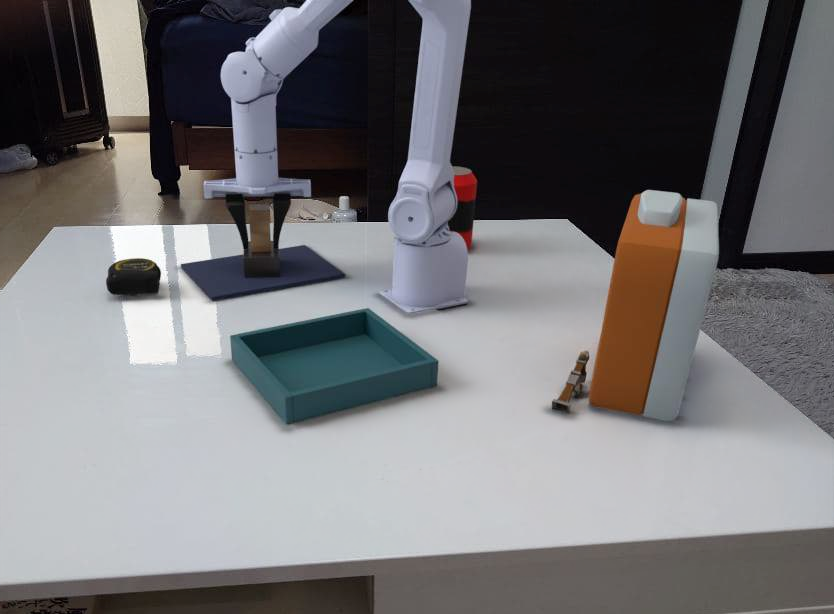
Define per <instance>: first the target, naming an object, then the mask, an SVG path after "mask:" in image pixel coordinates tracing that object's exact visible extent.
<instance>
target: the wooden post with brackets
mask: <svg viewBox="0 0 834 614" xmlns="http://www.w3.org/2000/svg"><path fill="white" fill-rule="evenodd" d="M589 361H590V352H589V350H583V351H580V352H579V355H578V358H577V359H576V361H575V366H574V368H573V369H571V371H570V373H569V376H568V378H567V380H566V381H565V386H564V389H563V391H562V392H561V394H560V395H559V396H558V397H557V399H556V398H553V399H552V400H551V409H552V410H553V409H559V410H563V411H565V412H568V413H570V412H571V403H570V401H571V398H575V397H579V396H580V395H579V394H580V391H582V390H583V384H585V382H586V381H587V374H588V373H587V372H588V371H587V364H588V363H589Z"/></svg>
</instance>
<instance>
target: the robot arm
mask: <svg viewBox="0 0 834 614" xmlns="http://www.w3.org/2000/svg"><path fill="white" fill-rule="evenodd" d="M353 1H354V0H305V1H304V2H303V4H302V5H301V6H300V7H299V8H297V7H292V6H286V7H284V8H283V9H274V10H273V11H272V12H271V13H270V14H269V16H268V17H269V19H270V22H269V23H268V24H267V25H266V26H265V27H264V28H263V29H262V30H261V31H260V32H259V34H257V36H256V37H249V38H248V39H247V41H246V42H245V46H246V47H245V51H235V52H231V53H229V54H228V55H227V57H226V59H225V60H224V62H223V64H222V65H221V69H220V81H221V85H222V88H223V90H224V92H225V93H226V94H227V96H228V97H229V98H230V103H231V118H232V119H231V120H232V133H233V146H234V147H233V149H234V164H235V177H234V178H226V179H215V180H204V181H203V194H204V199H213V198H225V207H226V208H227V210H228V212H229V214H230V216H231V218H232V219H233V221H234V223H235V225H236V228H237V230H238V233H239V236H240V240H241V243H242V249H243V250H244V249H248V241H249V234H248V227H247V219H246V216H247V215H246V199H245V197H272V211H273V231H272V241H273V246H274V249H278V248H279V247H280V246H279V245H280V237H281V232H282V229H283V225H284V223H285V219H286V217H287V215H288V212H289V211H290V207H291V206H292V198H291V197H298V196H299V197H304V198H311V197H312V186H311V185H312V183H311V179H303V178H302V179H301V178H300V179H299V178H286V177H279V162H278V161H279V159H278V140H277V139H278V137H277V112H276V111H277V109H276V108H277V95H278V93H279V91H280V90H281V88H282V86H283V82H284V79H285V78H287V76H289V74H291V72H292V71H294V69H295V68H296V67H298V66H299V65H300V64H301V63H302V62H303V61H304V60H305V59H306V58H307V57H309V55H310V54H312V52H314V51H315V50H316V49H317V47H318V45H319V32H320V30H321V29H322V28H324V26H326V25H327V24H328V23H329V22H331V20H333V19H334V18H335V17H336V16H338V14H340V13H341V12H342V11H343V10H344V9H346V7H348V6H349V5H350V4H351V3H352V2H353ZM408 2H409V3H410V4H411V6H412V7H413V8H414V10H415V11H416V12H417V13H418V15H419V16H420V17H421V18H422V23H421V24H422V26H421V34H420V42H419V43H420V45H419V51H418V53H419V54H418V62H417V63H418V64H417V70H416V71H417V72H416V78H415V79H416V80H415V90H414V98H413V108H412V117H411V128H410V137H409V145H408V154H407V162H406V164H405V166H404V168H403V171H402V173H401V175H400V178H399V180H398V185H397V186H398V187H397V192H396V195H395V197H394V198H393V200H392V201H391V203H390V206H389V208H388V212H387V220H388V224H389V227H390V229H391V232H392V233H393V234H394V236H393V262H392V284H391V285H392V287H391V288H390V289H385V290H384V289H383V290H380V291H379V294H380V295H381V296H383V297H384V298H386V299H387V300H388V301H390V302H391V303H392V304H394V305H395V306H397V307H398V308H400V309H401V310H403V312H405V313H407V314H414V313H419V312H425V311H428V310H434V309H435V310H442V309H445V308H450V307H456V306H460V305H465V304H468V301H469V300H468V298H466V297H465V295H466V285H467V276H468V263H469V252H468V251H469V250H467V246H466V243H465V241H464V239H463V238H462V236H461V235H460V234H458V233H457V232H450V230H449V227H448V222H447V221H449V220H450V219H451V218H452V217H453V215H454V214H455V212H456V209H457V195H456V192H455V189H454V169H453V167H452V166H453V165H452V163H451V154H452V148H453V141H454V133H455V127H456V120H457V111H458V104H459V98H460V90H461V83H462V75H463V67H464V60H465V52H466V45H467V40H468V39H467V38H468V31H469V23H470V17H471V10H472V0H408ZM279 249H280V248H279Z"/></svg>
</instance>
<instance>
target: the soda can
mask: <svg viewBox="0 0 834 614" xmlns="http://www.w3.org/2000/svg"><path fill="white" fill-rule="evenodd" d="M452 167H453V169H454V189H455V192H456V195H457V209H456V212H455V214H454V215H453V217H452V218H451V219H450V220H449V221H447V222H448V227H449V230H450V232H457V233H458V234H460V235H461V236H462V238H463V239H464V241H465V243H466V246H467V251H469V250H470V249H471V248H472V242H473V230H474V220H475V209H476V198H477V188H478V187H477V186H478V179H477V178H476V176H475V174H473V171H472V170H471V169H470V168H467V167H463V166H457V165H456V166H453V165H452Z"/></svg>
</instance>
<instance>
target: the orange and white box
mask: <svg viewBox="0 0 834 614" xmlns="http://www.w3.org/2000/svg"><path fill="white" fill-rule="evenodd" d="M719 238H720V237H719V208H718V203H716V202H715V201H713V200H705V199H696V198H687V199H686V198H685V197H683V196H682V195H681V194H680V193H678V192H672V191H661V190H653V189H646V190H645V191H643V192H642V193H637V194H635V195H634V196H633V198H632V199H631V202H630V205H629V208H628V211H627V214H626V217H625V220H624V223H623V226H622V229H621V232H620V235H619V238H618V242H617V246H616V250H615V255H614V261H613V266H612V270H611V271H612V272H611V277H610V281H609V288H608V292H607V296H606V303H605V309H604V313H603V320H602V325H601V330H600V337H599V340H598V346H597V350H596V356H595V361H594V367H593V372H592V377H591V381H590V388H589V394H588V401H589V405H591V406H592V407H595V408H599V409H604V410H610V411H614V412H620V413H626V414H630V415H634V416H635V415H636V416H641V415H642V417H645V418H650V419H656V420H660V421H666V422H670V421H675V420H676V418H677V417H678V416H679V412H680V408H681V405H682V401H683V397H684V393H685V389H686V386H687V382H688V378H689V374H690V370H691V366H692V363H693V358H694V354H695V352H696V347H697V343H698V339H699V335H700V331H701V328H702V324H703V320H704V316H705V312H706V308H707V306H708V302H709V298H710V293H711V290H712V286H713V282H714V279H715V275H716V270H717V266H718V262H719V258H720V257H719V255H720V239H719Z"/></svg>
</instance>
